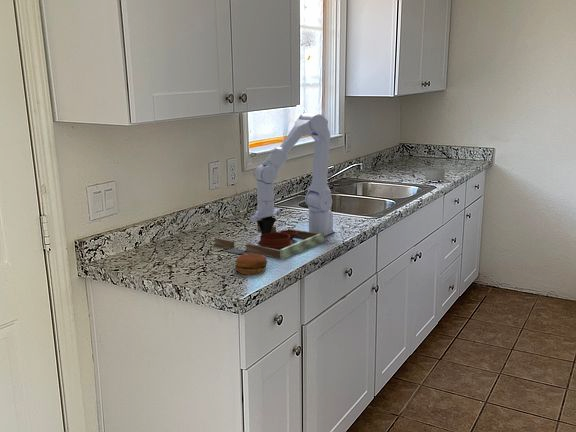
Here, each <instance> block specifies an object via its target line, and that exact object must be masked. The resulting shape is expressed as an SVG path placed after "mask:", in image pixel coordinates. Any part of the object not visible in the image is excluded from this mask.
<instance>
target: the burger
mask: <svg viewBox="0 0 576 432" xmlns="http://www.w3.org/2000/svg"><path fill="white" fill-rule="evenodd" d="M267 263H268V261H267V256H265V255H261V254H256V253H251V252H247V253H242V254H240V255H239V256H238V257H237V258H236V260H235V265H234V268H235V270H236V271H237V272H238V273H239V274H242V275H245V276H246V275H247V276H248V275H253V276H255V275H260V274H262V273H264V271H265V270H266V268H267V265H268V264H267Z"/></svg>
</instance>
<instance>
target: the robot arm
mask: <svg viewBox="0 0 576 432" xmlns="http://www.w3.org/2000/svg"><path fill="white" fill-rule="evenodd" d="M328 125H329V120H327V118H326V117H325V116H324V115H322V114H320V113H318V114H316V113H315V114H314V113H307V112H305V113H304V112H303V113H301V114H300V115H299V116H298V119H296V120H295V121H294V125H293V126H292V129H290V131H289V133H288V134H287V136H286V137H285V138H284V141H283V142H282V143H281V145H280V146H278V147H274V149H271V150H270V151H269V155H268V156H267V157H266V158H265V160H263V161H262V163H261V164H260V165H258V166H257V167H256V168H255V170H254V173H253V177H254V180H256V181H255V182H256V191H257V192H256V197H257V199H256V200H257V206H256V207H257V210H256V211H255V213H254V214H253V215H251V216H250V222H251V223H257V224H258V225H259V227H260V229H261V231H260V232H261V235H262V234H265V233H271V230H272V227H273V226H275V222H276V220H277V219H276V217H274V216H277V215H278V216H279V215H281V209H280V208H275V200H274V199H275V196H274V195H275V190H274V187H275V186H274V182H275V181H276V180H277V179H278V172H279V170H280V169H281V168H282V166H283V165H284V164H285V163H286V161H287V160H288V158H289V155H288V153H289V152H290V151H291V150H292V149H293V148H294V147H295V145H296V144H297V143H298V142H299V140H301V138H302V137H305V136H310V137H311V138H312V139H313V141H314V148H313V149H314V151H313V162H312V163H313V165H312V176H311V177H312V178H311V183H310V185H309V186H308V187H307V192H306V194H305V197H304V202H305V204H306V206H308V207H307V208H308V230H307V232H313V233H324V237H325V236H328V235H330V234H333V233H335V232H336V230H334V214H333V211H332V210H331V208H332V205H333V198H332V190H331V189H330V187H329V185H328V177H329V175H328V174H329V162H330V160H329V159H330V149H331V133H330V130H329V126H328ZM258 225H257V226H258Z"/></svg>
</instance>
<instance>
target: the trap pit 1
mask: <svg viewBox="0 0 576 432" xmlns="http://www.w3.org/2000/svg"><path fill="white" fill-rule="evenodd" d="M224 252H225V253H229V254H235V255H239V256H240V255H242V254H245V253H247V252H246V249H241V248H236V247H234V248H227V249H226V250H224Z"/></svg>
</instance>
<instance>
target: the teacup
mask: <svg viewBox="0 0 576 432" xmlns="http://www.w3.org/2000/svg"><path fill="white" fill-rule="evenodd" d="M445 169H446V167H443V166H430V167H425V168H424V178H425V180H426V181H427V180H432V181H440V180H442V181H443V180H444V179H445V176H446V171H445Z"/></svg>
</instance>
